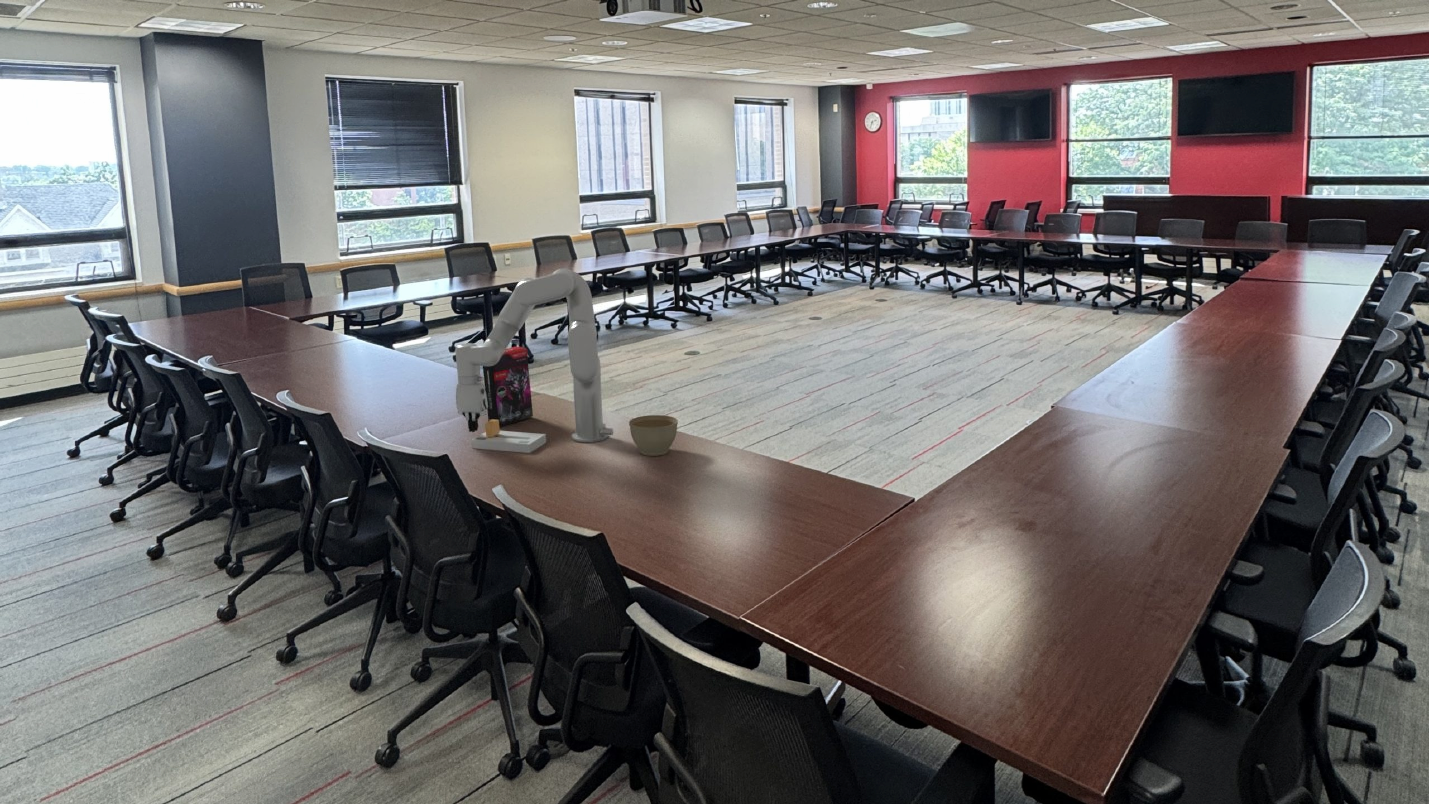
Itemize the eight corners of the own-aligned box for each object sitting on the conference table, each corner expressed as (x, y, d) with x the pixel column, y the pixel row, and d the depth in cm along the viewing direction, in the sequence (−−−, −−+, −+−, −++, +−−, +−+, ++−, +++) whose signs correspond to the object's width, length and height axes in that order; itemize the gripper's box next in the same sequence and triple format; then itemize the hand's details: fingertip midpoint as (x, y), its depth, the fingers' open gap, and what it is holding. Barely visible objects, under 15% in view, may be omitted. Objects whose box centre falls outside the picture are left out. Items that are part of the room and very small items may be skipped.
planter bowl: (688, 451, 307) (687, 419, 304) (654, 463, 295) (653, 430, 293) (654, 441, 317) (653, 411, 315) (620, 453, 306) (618, 421, 303)
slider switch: (546, 442, 319) (545, 433, 318) (529, 452, 308) (529, 443, 307) (489, 437, 325) (489, 429, 324) (471, 448, 314) (471, 439, 313)
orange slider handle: (500, 439, 319) (499, 419, 318) (493, 443, 315) (492, 423, 313) (493, 438, 320) (491, 419, 319) (485, 442, 316) (484, 423, 314)
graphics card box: (498, 428, 337) (492, 355, 330) (486, 425, 341) (480, 353, 334) (533, 417, 350) (528, 347, 343) (521, 414, 354) (516, 345, 347)
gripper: (494, 378, 316) (498, 429, 320) (456, 376, 320) (460, 426, 324) (483, 383, 309) (487, 435, 313) (444, 380, 313) (448, 432, 318)
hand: (473, 430), depth 319 cm, fingers closed
